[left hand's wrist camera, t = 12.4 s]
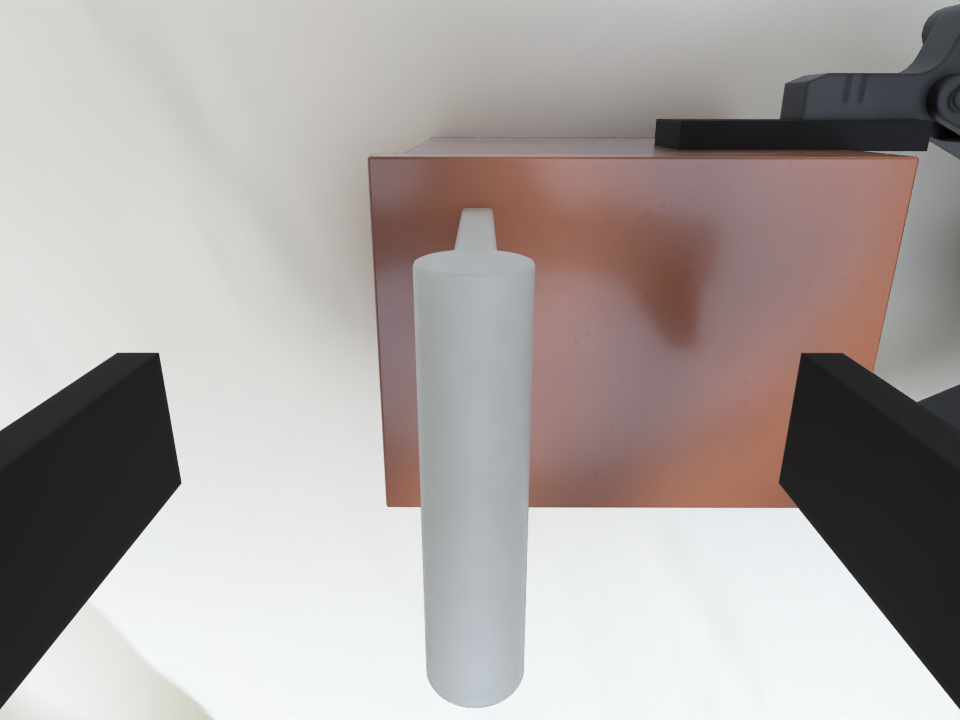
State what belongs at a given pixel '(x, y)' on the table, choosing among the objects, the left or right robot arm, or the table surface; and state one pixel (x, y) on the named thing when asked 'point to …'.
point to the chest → (579, 147)
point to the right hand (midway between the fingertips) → (652, 302)
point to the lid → (602, 348)
